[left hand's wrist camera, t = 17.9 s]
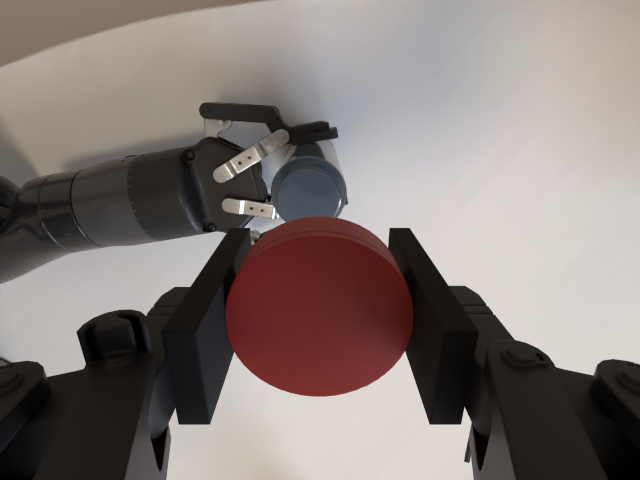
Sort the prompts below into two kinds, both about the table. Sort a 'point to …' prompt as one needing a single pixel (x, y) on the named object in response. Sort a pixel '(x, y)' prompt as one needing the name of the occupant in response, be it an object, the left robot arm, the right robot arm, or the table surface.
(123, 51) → the table surface
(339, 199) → the jar
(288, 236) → the lid
